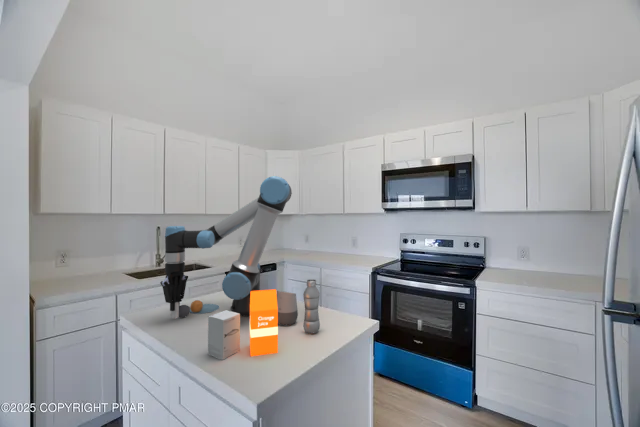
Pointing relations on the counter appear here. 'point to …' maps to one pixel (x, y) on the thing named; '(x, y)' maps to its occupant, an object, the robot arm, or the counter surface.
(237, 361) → the counter surface
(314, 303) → the plastic bottle
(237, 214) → the robot arm
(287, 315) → the smart speaker
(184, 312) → the dark grey ball
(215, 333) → the supplement box
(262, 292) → the orange juice
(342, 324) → the counter surface
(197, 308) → the object ball
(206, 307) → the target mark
